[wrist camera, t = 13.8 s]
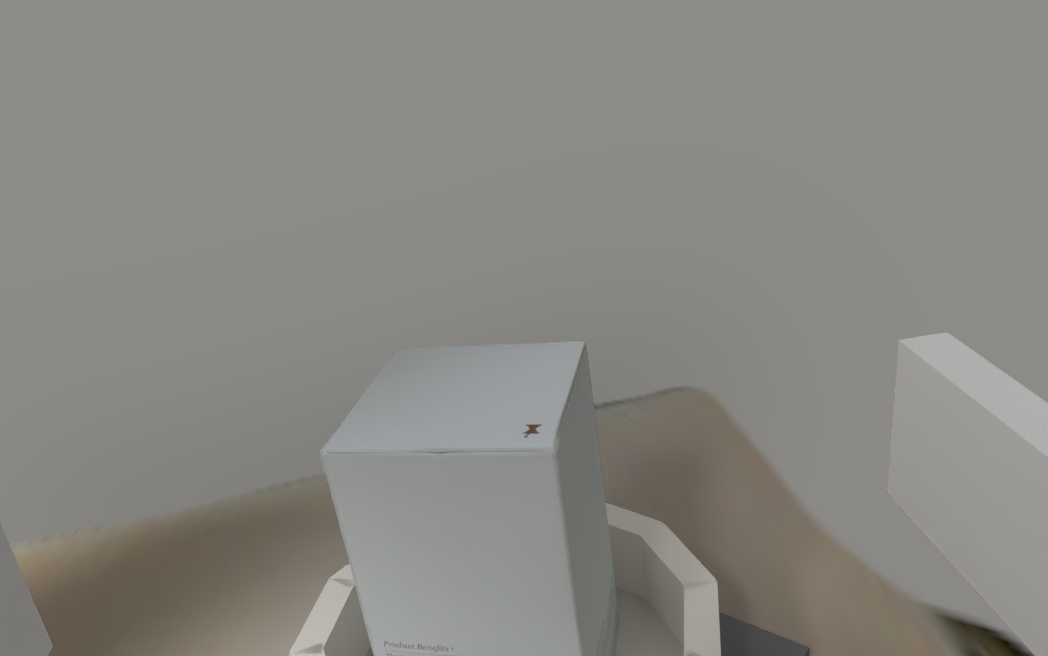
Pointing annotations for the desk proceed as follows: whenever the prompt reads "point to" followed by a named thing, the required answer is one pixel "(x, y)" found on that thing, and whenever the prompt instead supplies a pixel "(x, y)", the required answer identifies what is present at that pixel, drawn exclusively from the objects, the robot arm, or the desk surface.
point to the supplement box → (477, 504)
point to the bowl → (641, 585)
